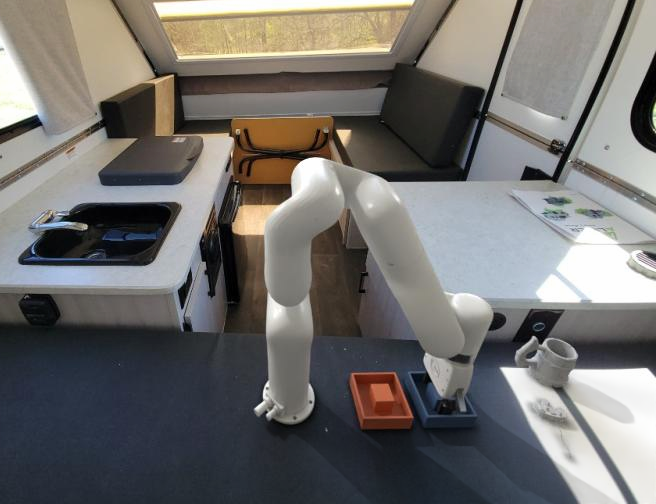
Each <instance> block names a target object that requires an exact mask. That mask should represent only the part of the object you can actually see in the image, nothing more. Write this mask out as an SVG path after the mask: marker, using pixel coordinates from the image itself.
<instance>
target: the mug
mask: <svg viewBox="0 0 656 504" xmlns="http://www.w3.org/2000/svg"><path fill="white" fill-rule="evenodd" d="M535 351H536V353H535V355H534V356H533V357H531V358H526V357H527V355H528V354H530V353H533V352H535ZM578 359H579V354H578V352H577V351H576V349H575V348H574V347H573V346H572V345H571V344H569V343H568V342H566V341H564V340H562V339H559V338H554V337H549V338H545V339H544V341H543V343H542V344H540V342H539V339H538V338H537V337H536V336H535V335H532V336H531V338H530V340H529V341H527V342H526V343H525V344H524V345H522V346H521V347H520V348H519V349H517V350H516V352H515V355H514V361H515V364H516V366H517V368H519V369H520V368H526V367H528V370H529V372H530V374H531V376H532V377H533V378H534V379H536V380H537V381H539V383H541V384H543V385H545V386H547V387H550V388H552V387H553V388H562V387H564V386H565V385H567V383H568V382H569V379H570V377H569V376H570V374H571V372H572V371H574V369H575V368H576V363H577V360H578Z"/></svg>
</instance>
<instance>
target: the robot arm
mask: <svg viewBox="0 0 656 504" xmlns="http://www.w3.org/2000/svg"><path fill="white" fill-rule="evenodd" d="M290 185H291V196H290V197H289V198H288V199H286V200H285V201H283V202H281V203H280V204H279V205H277V206H276V207H275V208H274V209H273V210H272V211H271V213H270V214H269V215H268V217H267V218H266V220H265V223H264V230H263V234H264V235H263V239H264V267H263V269H264V270H263V271H264V274H263V275H264V282H265V287H266V289H267V297H266V298H267V299H266V300H267V301H266V316H265V317H266V318H265V319H266V320H265V337H266V346H267V347H266V349H267V351H266V352H267V369H268V370H267V371H268V372H267V373H268V380H267V381H266V383H265V384H264V388H263V391H262V402H261V403H259V404H258V405H257V406H256V407H255V408H253V412H254V414H255V415H256V417H258V418H259V417H262V415H263V414H264V413H265V412H267V413H266V414H265V418H266V420H267V421H269V422H270V421H271V420H272V419H273V420H275V421H276V422H278V423H281V424H284V425H297V424H299V423H303V422H304V421H305V420H307V419H308V418H309V416H310V415H311V414H312V412H313V409H314V408H315V407H314V406H315V392H314V389H313V387H312V385H311V383H310V371H311V370H310V369H311V353H312V351H311V349H312V344H313V340H314V320H313V319H314V318H313V312H312V305H311V300H310V299H311V298H310V290H311V287H312V281H313V271H312V262H311V259H312V258H311V257H312V256H311V253H312V242H313V239H314V238H315V237H317V236H318V235H319V234H321V233H323V232H325V231H326V230H328V229H330V228H332V227H333V226H334V225H335V224H337V222H338V221H339V219H340V218H341V217H342V215H343V214H344V209H347V210H350V212H351V214H352V216H353V219H354V221H355V224H356V226H357V228H358V231H359V233H360V235H361V236H362V238H363V240H364V242H365V244H366V246H367V248H368V249H369V251H370V253H371V255H372V257H373V259H374V261H375V263H376V265H377V266H378V268H379V271H380V273H381V274H382V276H383V278H384V280H385V282H386V284H387V286H388V289H389V290H390V292H391V293H392V295H393V297H394V298H395V299H396V301H397V303H398V305H399V306H400V308H401V311H402V312H403V314H404V316H405V318H406V320H407V323H409V325H410V327H411V330H412V331H413V334H414V335H415V337H416V339H417V341H418V343H419V345H420V347H421V348H422V350H423V351H424V352H425V353H424V356H423V364H424V367H425V371H426V372H425V375H424V378H423V383H424V384H429V383H433V384H434V386H435V388H436V390H437V392H438V393H439V395H440V396H441V397H442V398H443V401H441V402H440V404H439V406H438V409H437V413H438V415H451V414H452V413H453V411H456V412H458V413H466V407H465V401H464V396H465V395H466V396H467V393H468V391H469V388H470V385H471V383H472V378H473V375H474V363H475V360H476V359H477V356H478V354H479V352H480V350H481V347H482V345H483V343H484V340H485V338H486V337H487V335H488V331H489V328H490V327H491V324H492V322H493V319H494V311H493V308H492V306H491V305H490V304H489V302H488V301H487V300H485V299H483V298H482V297H480V296H478V295H476V294H472V293H469V292H459V293H451V292H447V291H445V290H444V288H443V287H442V285H441V282H440V280H439V277H438V275H437V273H436V271H435V268H434V266H433V264H432V262H431V260H430V258H429V256H428V254H427V251H426V249H425V247H424V245H423V242H422V240H421V238H420V235H419V233H418V231H417V229H416V227H415V225H414V222H413V220H412V218H411V215H410V213H409V211H408V209H407V206H406V205H405V203H404V201H403V200H402V198H401V197H400V196H399V195H398V193H397V192H396V190H395V189H394V188H393V186H392V184H390V183H389V182H388V181H387V179H384V178H383V177H381V176H378V175H376V174H373V173H370V172H367V171H364V170H361V169H358V168H355V167H353V166H348V165H346V164H344V163H343V164H342V163H339V162H338V161H337V162H336V161H333V160H331V159H326V158H323V157H308V158H306V159H304V160H302V161H300V162H299V163H298V164H297V165H296V166H295V167H294V169H293V171H292V173H291V178H290ZM451 397H453V401H452V400H448V399H449V398H451Z"/></svg>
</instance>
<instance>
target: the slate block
mask: <svg viewBox="0 0 656 504" xmlns="http://www.w3.org/2000/svg"><path fill="white" fill-rule="evenodd" d="M425 394H426V396H427V398H428V400H429V402H430V405H431V407H432V409H433V411H437V409H438V406H439V404H440V402H441V401H443V398H442V397H441V396H440V395H439V393H438V392H437V390H436V388H435V386H434V384H433V383H429V384H428V387H427V390H426V393H425ZM448 400H452V401H453V397H451V398H449V399H448Z"/></svg>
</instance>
